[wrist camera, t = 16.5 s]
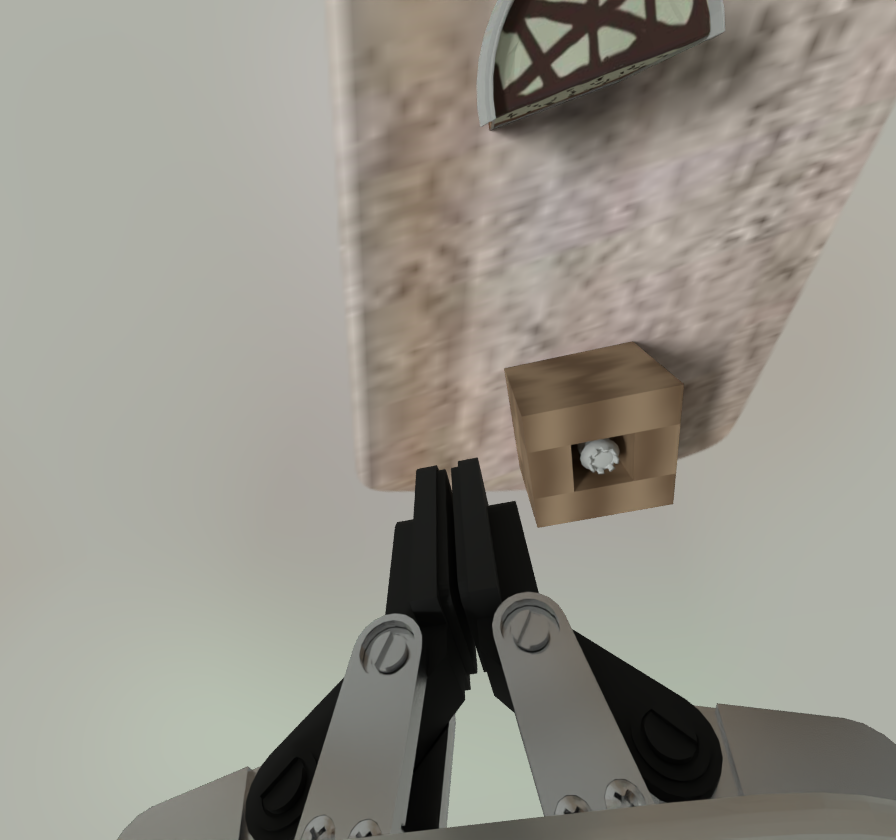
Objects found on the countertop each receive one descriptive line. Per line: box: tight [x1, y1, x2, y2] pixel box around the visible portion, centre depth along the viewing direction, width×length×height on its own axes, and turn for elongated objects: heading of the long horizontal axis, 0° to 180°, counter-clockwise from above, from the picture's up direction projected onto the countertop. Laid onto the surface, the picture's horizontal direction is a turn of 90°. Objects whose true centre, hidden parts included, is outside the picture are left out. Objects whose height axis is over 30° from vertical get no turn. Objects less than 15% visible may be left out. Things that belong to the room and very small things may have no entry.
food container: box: [477, 0, 725, 130], centre depth 23 cm, size 12×6×10 cm, turn 108°
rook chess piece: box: [577, 438, 620, 474], centre depth 37 cm, size 4×4×8 cm
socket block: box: [504, 342, 684, 528], centre depth 37 cm, size 12×12×9 cm
